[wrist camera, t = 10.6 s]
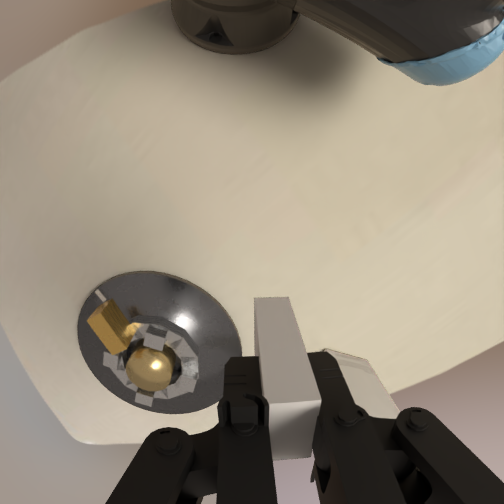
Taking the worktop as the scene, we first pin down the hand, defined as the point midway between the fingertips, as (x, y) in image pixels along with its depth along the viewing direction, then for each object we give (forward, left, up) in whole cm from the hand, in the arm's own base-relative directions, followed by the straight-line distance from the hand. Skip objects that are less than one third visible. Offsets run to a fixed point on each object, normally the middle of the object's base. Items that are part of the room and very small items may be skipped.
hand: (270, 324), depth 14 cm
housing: (+11, -20, -24) cm, 33 cm away
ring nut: (+9, -20, -23) cm, 32 cm away
